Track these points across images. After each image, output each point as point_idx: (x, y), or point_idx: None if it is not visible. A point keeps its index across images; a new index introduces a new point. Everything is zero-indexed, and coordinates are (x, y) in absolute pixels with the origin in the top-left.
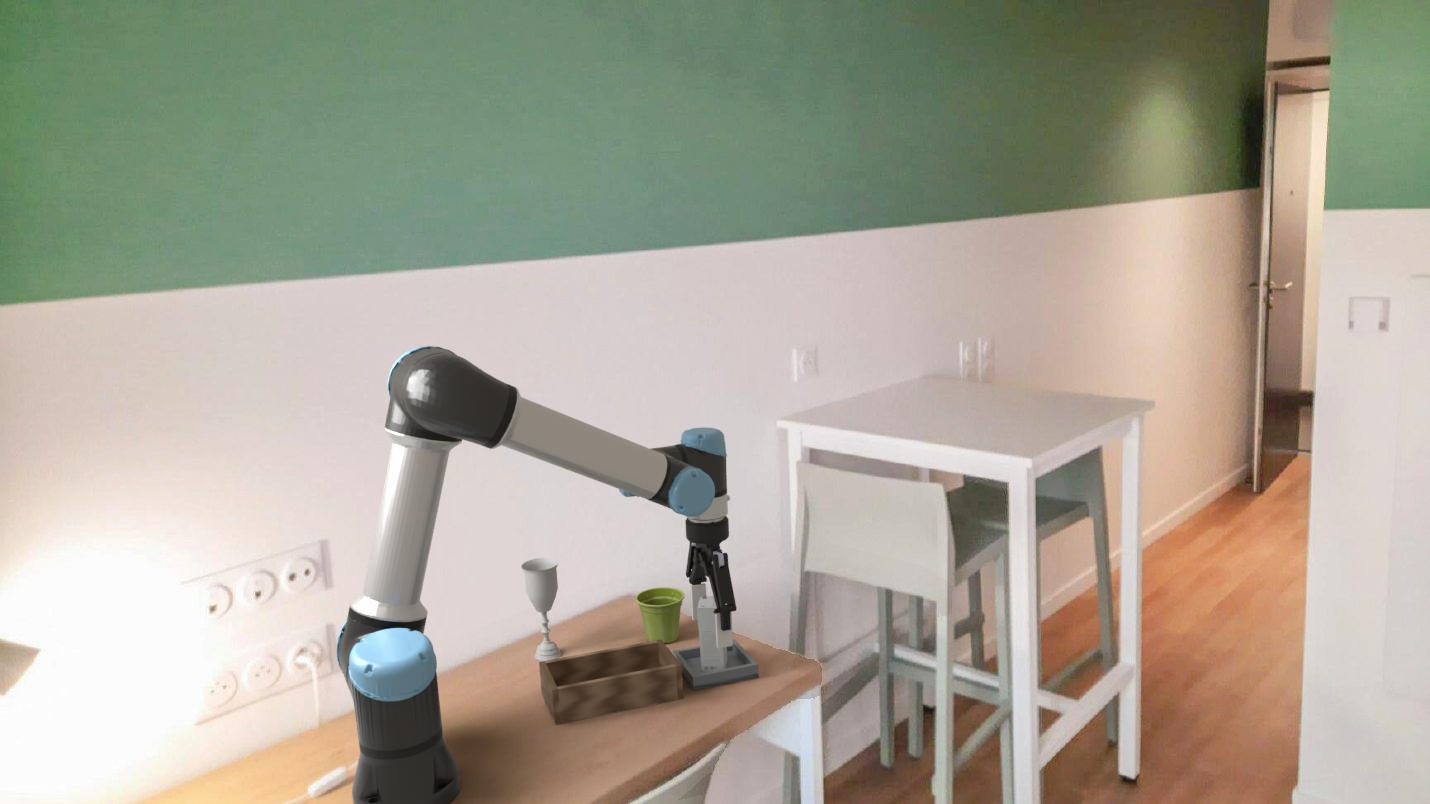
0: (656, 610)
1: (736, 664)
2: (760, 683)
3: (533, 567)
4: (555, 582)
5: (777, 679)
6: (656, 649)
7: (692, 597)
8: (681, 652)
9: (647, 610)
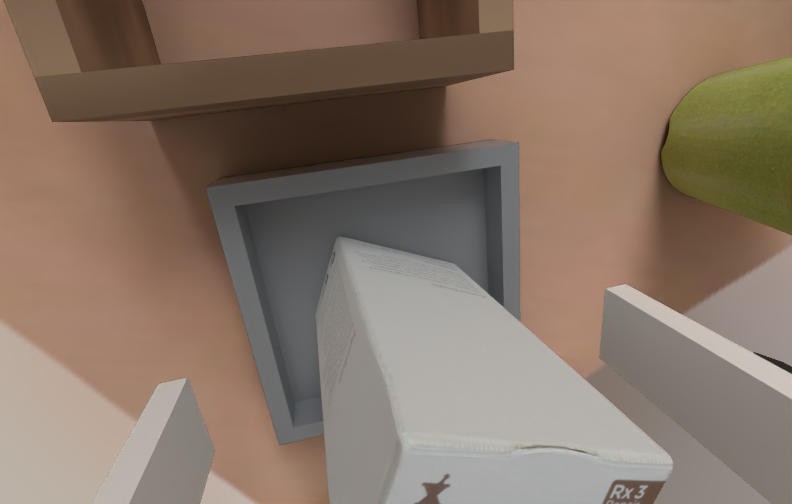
0: None
1: None
2: (236, 409)
3: None
4: None
5: (255, 456)
6: (461, 31)
7: (745, 374)
8: (498, 179)
9: None
